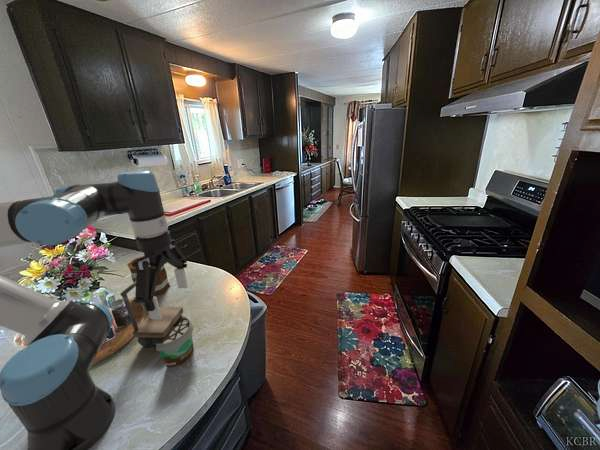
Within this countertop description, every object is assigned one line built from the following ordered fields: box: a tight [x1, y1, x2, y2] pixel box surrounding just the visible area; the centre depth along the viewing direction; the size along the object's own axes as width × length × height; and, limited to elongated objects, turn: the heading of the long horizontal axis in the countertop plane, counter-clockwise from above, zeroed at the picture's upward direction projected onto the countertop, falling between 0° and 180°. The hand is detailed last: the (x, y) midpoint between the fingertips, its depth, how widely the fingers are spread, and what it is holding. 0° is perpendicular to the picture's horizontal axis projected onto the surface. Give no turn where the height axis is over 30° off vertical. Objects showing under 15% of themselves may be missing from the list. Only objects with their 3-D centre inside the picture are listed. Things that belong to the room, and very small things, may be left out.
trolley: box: [119, 281, 184, 348], centre depth 81 cm, size 12×10×22 cm
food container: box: [155, 315, 195, 368], centre depth 74 cm, size 12×6×10 cm, turn 168°
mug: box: [127, 255, 171, 297], centre depth 110 cm, size 20×14×15 cm
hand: (171, 301), depth 69 cm, fingers open, 13 cm apart
